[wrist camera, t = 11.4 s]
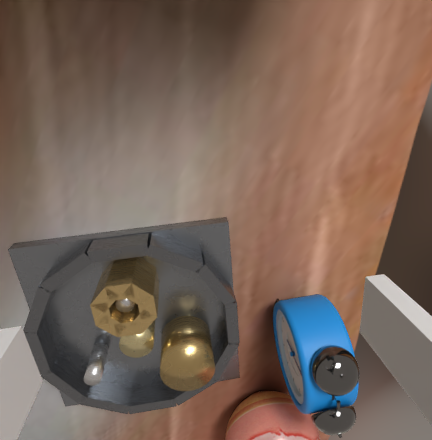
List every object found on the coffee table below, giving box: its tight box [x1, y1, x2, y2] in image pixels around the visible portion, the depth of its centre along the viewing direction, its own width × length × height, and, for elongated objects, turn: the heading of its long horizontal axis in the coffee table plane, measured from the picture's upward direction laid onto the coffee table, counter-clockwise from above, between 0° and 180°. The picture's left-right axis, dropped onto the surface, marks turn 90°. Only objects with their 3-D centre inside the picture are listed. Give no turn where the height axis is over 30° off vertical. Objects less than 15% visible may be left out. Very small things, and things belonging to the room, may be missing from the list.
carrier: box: [8, 217, 240, 414], centre depth 41 cm, size 25×25×8 cm
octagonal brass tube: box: [90, 257, 159, 337], centre depth 37 cm, size 6×6×6 cm
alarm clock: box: [273, 294, 359, 438], centre depth 40 cm, size 13×6×15 cm, turn 6°
